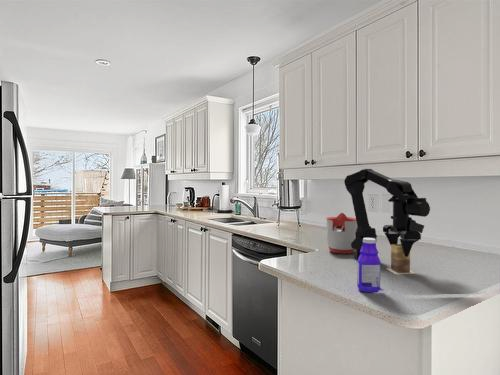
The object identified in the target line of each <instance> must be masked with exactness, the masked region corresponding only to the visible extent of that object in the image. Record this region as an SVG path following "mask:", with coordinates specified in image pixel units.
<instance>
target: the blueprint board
mask: <svg viewBox="0 0 500 375" xmlns="http://www.w3.org/2000/svg"><path fill="white" fill-rule="evenodd" d="M385 269H386V270H387V271H389V272H391V273H393V274H394V275H414V274H416V272H413V271H412V270H410V273H397V272H395V271H393V270H392V269H391V267H386V268H385Z"/></svg>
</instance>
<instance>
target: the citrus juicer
mask: <svg viewBox="0 0 500 375" xmlns="http://www.w3.org/2000/svg"><path fill="white" fill-rule="evenodd" d="M325 219H326V240H327V241H326V242H327V245H328V250H329V252H331V253H333V254H343V255H349V254H353V253H354V249H353V248H352V247H351V243H352V242H353V241H354V240H355V238H356V235H355V233H356V230H357V221H356V217H347V215H346V214H345V213H344V212H340V213H339V214H338V215H337V216H329V217H326V218H325Z"/></svg>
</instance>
